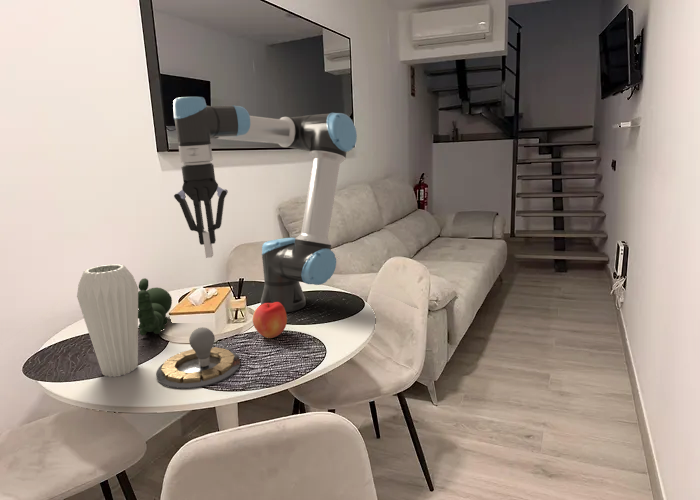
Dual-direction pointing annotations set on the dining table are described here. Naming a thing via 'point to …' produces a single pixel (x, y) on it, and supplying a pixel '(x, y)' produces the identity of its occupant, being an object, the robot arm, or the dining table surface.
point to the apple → (270, 319)
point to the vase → (111, 316)
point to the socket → (197, 369)
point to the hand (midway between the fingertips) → (209, 256)
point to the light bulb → (202, 344)
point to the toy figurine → (152, 308)
